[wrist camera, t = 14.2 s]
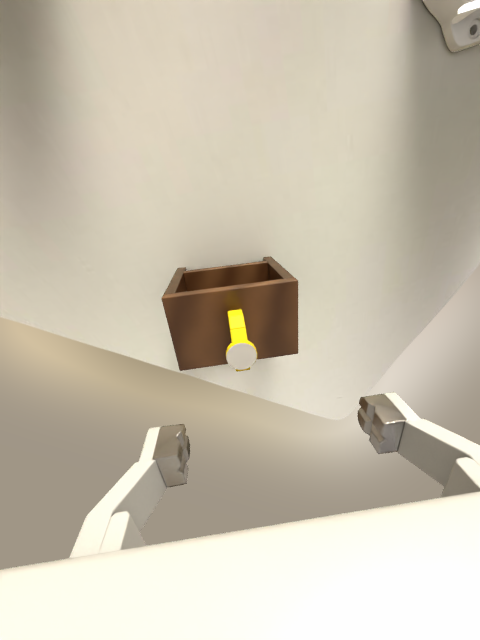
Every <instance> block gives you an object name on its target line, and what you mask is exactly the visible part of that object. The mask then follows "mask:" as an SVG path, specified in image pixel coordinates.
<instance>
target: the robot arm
mask: <svg viewBox="0 0 480 640" xmlns="http://www.w3.org/2000/svg"><path fill="white" fill-rule="evenodd" d="M423 2H424V4H425V6H426V7H427V9H428V10H429V11H430V12H431V13H432V15H433V16H434V17H435V18H436V19H437V20H438V22H439V23H440V25H441V27H442V31H443V35H444V38H445V41H446V44H447V47H448V48H449V50H450V51H452V52H457V51H460V50H463V49H466V48H469V47H472V46H475V45H477V44H480V0H423ZM470 29H471V34H470ZM359 404H360V405H361V408H360V409H359V410H358V421H359V424H360V426H361V428H362V430H363V431H364V432H365V433H367V434H369V435H370V442H371V444H372V445H373V447H374V448H375V450H376V451H377V453H378V454H382V453H390V452H398V453H399V454H400V455H402V456H403V457H404V458H406V459H407V460H409V461H410V462H411V463H413V464H414V465H415V466H417V467H418V468H419V469H421V470H422V471H424V472H425V473H426V474H428V475H429V476H430V477H432V478H433V479H435V480H436V481H437V482H439V483H440V484H442V485H443V486H444V489H443V492H442V495H441V497H440V498H436V499H430V500H424V501H418V502H411V503H406V504H399V505H393V506H387V507H381V508H375V509H370V510H363V511H356V512H351V513H345V514H338V515H332V516H326V517H320V518H313V519H307V520H301V521H296V522H289V523H284V524H278V525H271V526H265V527H259V528H253V529H247V530H241V531H234V532H228V533H222V534H216V535H210V536H205V537H198V538H192V539H186V540H180V541H173V542H167V543H162V544H155V545H149V546H146V543H145V542H144V540H143V538H142V536H141V534H140V531H141V530H142V528H143V526H144V525H145V523H146V521H147V520H148V518H149V517H150V515H151V513H152V512H153V510H154V509H155V507H156V505H157V504H158V502H159V501H160V499H161V497H162V496H163V494H164V493H165V491H166V489H167V487H173V486H178V485H183V484H187V476H188V466H187V463H186V462H187V461H188V460H189V455H190V444H189V439H188V436H186V435H185V432H186V428H185V425H184V424H178V425H170V426H162V427H155V428H150V429H149V430H148V432H147V435H146V439H145V443H144V446H143V449H142V452H141V456H140V459H139V462H138V463H135V464H134V465H133V466H132V467H131V468H130V469H129V470H128V471H127V472H126V474H125V475H124V476H123V477H122V478H121V479H120V480H119V481H118V482H117V483H116V484H115V485H114V487H113V488H112V489H111V490H110V491H109V492H108V493H107V494H106V495H105V496H104V498H103V499H102V500H101V501H100V502H99V503H98V504H97V505H96V506H95V507H94V508H93V510H92V511H91V512H90V513H89V514H88V515H87V516H86V519H85V521H84V523H83V526H82V528H81V531H80V533H79V535H78V538H77V540H76V543H75V545H74V548H73V550H72V552H71V555H70V557H69V559H63V560H57V561H51V562H44V563H38V564H32V565H26V566H20V567H14V568H8V569H2V570H0V640H480V446H479V445H477V444H475V443H473V442H471V441H469V440H467V439H465V438H463V437H461V436H459V435H457V434H455V433H452V432H450V431H448V430H446V429H444V428H442V427H440V426H438V425H436V424H434V423H432V422H430V421H428V420H425V419H420V418H419V417H418V416H417V415H416V414H415V412H414V411H413V410H412V409H410V407H409V406H408V405H407V404H406V403H405V402H404V401H403V400H402V399H401V398H400V397H399V396H398V395H397V394H396V393H394V392H392V393H385V394H378V395H372V396H365V397H361V398H360V401H359Z"/></svg>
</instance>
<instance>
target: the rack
mask: <svg viewBox="0 0 480 640" xmlns="http://www.w3.org/2000/svg"><path fill="white" fill-rule="evenodd" d="M162 302H163V306H164V310H165V314H166V318H167V321H168V325H169V329H170V333H171V337H172V341H173V345H174V349H175V353H176V357H177V361H178V365H179V369H180V371H182V370H189V369H196V368H202V367H209V366H216V365H223V364H228V362H227V360H226V350H227V347H228V346H229V345H230V344H231V343H232V342H231V334H230V327H229V319H228V311H233V310H240V309H241V310H242V313H243V317H244V322H245V327H246V333H247V340H248V341H250V342H251V343H253V344H254V346H255V348H256V351H257V359H264V358H271V357H277V356H284V355H291V354H298V280H297V279H296V278H294V277H293V276H292V275H291V274H290V273H289V272H288V271H286V270H285V269H284V268H283V267H282V266H281V265H280V264H279V263H277V262H276V261H275V260H274V259H273V258H272V257H264V258H263V261H261V262H254V263H246V264H238V265H230V266H222V267H214V268H206V269H199V270H191V271H186V268H185V267H184V268H178V269H177V270H176V272H175V274H174V276H173V278H172V280H171V282H170V284H169V286H168V288H167V289H166V291H165V293H164V295H163V297H162ZM257 359H256V360H257Z"/></svg>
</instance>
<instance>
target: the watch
mask: <svg viewBox="0 0 480 640" xmlns="http://www.w3.org/2000/svg"><path fill="white" fill-rule="evenodd" d="M228 319H229V327H230V334H231V342H232V343H231V344H230V345H229V346H228V347H227V350H226V360H227V362H228V364H229V365H230V366H231V367H233V368H234V369H236V371H244V370H250V367H251V366H252V365H253V364H254V363H255V361H256V359H257V351H256V348H255V346H254V344H253V343H251V342H250V341H248V340H247V333H246V327H245V322H244V317H243V313H242V310H241V309H240V310H233V311H228Z"/></svg>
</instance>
